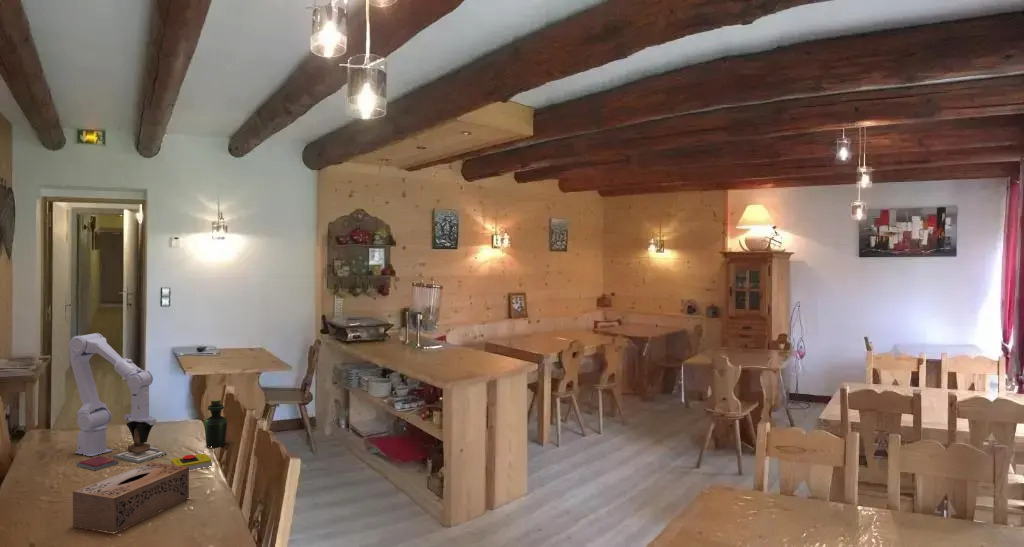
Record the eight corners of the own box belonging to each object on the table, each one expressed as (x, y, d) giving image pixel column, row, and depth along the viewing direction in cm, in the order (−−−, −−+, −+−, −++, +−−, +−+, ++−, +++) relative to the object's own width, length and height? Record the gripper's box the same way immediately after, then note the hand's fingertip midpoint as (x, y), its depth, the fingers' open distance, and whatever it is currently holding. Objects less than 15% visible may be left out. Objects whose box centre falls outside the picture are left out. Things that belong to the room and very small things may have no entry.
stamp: (127, 451, 228) (128, 429, 228) (140, 448, 233) (141, 426, 233) (136, 453, 226) (137, 431, 226) (149, 450, 231) (150, 428, 231)
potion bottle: (202, 449, 239) (202, 402, 238) (206, 443, 247) (206, 397, 246) (225, 448, 241) (225, 401, 240) (228, 442, 249) (228, 397, 248)
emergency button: (165, 456, 219) (211, 448, 229) (165, 468, 219) (211, 460, 229) (171, 463, 212) (219, 455, 221) (171, 476, 212) (218, 467, 222)
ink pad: (76, 466, 218) (76, 462, 218) (99, 459, 226) (99, 455, 226) (94, 470, 214) (94, 466, 214) (117, 463, 222) (117, 459, 222)
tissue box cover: (151, 493, 197) (151, 461, 196) (188, 499, 193) (188, 467, 192) (72, 527, 172) (72, 491, 172) (113, 535, 168) (113, 498, 168)
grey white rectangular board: (112, 457, 228) (112, 453, 228) (141, 449, 238) (141, 444, 238) (138, 463, 222) (138, 459, 222) (166, 454, 232) (166, 450, 232)
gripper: (116, 404, 229) (116, 441, 229) (143, 409, 223) (143, 447, 224) (134, 400, 235) (134, 436, 236) (161, 405, 229) (161, 442, 230)
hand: (140, 441), depth 230 cm, fingers closed on stamp, 3 cm apart
